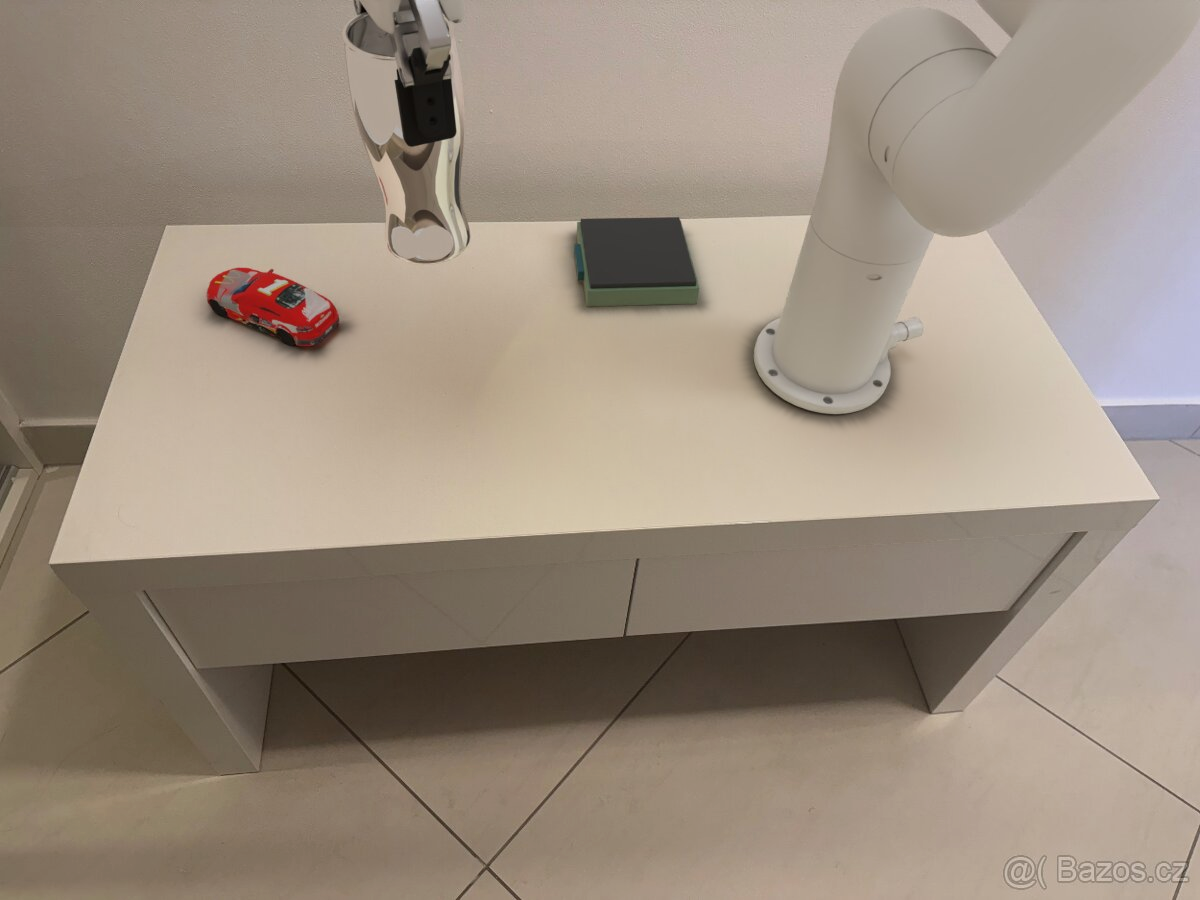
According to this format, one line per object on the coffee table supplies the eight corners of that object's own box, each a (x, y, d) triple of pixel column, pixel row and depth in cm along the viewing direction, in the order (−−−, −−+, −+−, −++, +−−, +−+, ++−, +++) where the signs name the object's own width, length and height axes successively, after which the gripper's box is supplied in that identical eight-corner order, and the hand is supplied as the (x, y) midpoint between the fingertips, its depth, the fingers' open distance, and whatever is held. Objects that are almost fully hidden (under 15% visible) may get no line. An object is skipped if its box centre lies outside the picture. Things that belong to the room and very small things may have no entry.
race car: (199, 308, 81) (185, 275, 78) (239, 277, 84) (228, 243, 81) (311, 359, 77) (301, 326, 74) (349, 324, 80) (341, 291, 77)
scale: (678, 235, 92) (681, 215, 90) (696, 303, 85) (700, 283, 83) (570, 237, 91) (571, 216, 89) (580, 307, 84) (581, 286, 82)
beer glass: (461, 276, 60) (437, 65, 48) (365, 261, 60) (319, 50, 49) (487, 217, 64) (472, 11, 52) (398, 204, 65) (363, -3, 53)
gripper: (503, -197, 37) (518, 168, 51) (383, -290, 47) (423, 38, 60) (330, -181, 35) (395, 197, 49) (242, -282, 44) (316, 57, 58)
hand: (410, 107), depth 54 cm, fingers closed on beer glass, 7 cm apart
